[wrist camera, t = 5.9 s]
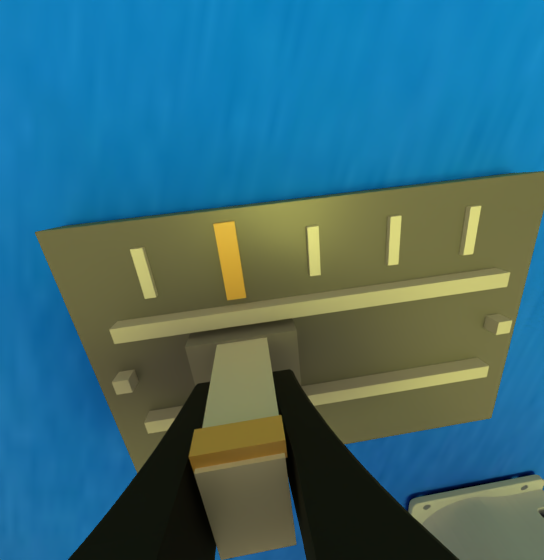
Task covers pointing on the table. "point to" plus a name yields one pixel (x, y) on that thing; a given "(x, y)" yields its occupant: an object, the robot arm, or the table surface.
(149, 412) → the console
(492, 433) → the table surface
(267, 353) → the fader
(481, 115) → the table surface
